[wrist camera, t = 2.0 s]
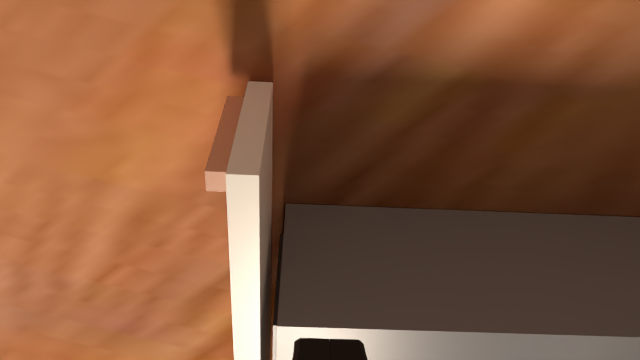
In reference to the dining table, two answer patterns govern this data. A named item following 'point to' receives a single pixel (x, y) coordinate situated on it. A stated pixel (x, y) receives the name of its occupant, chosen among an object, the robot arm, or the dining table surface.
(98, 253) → the dining table surface
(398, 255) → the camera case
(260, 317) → the side door
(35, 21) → the dining table surface
